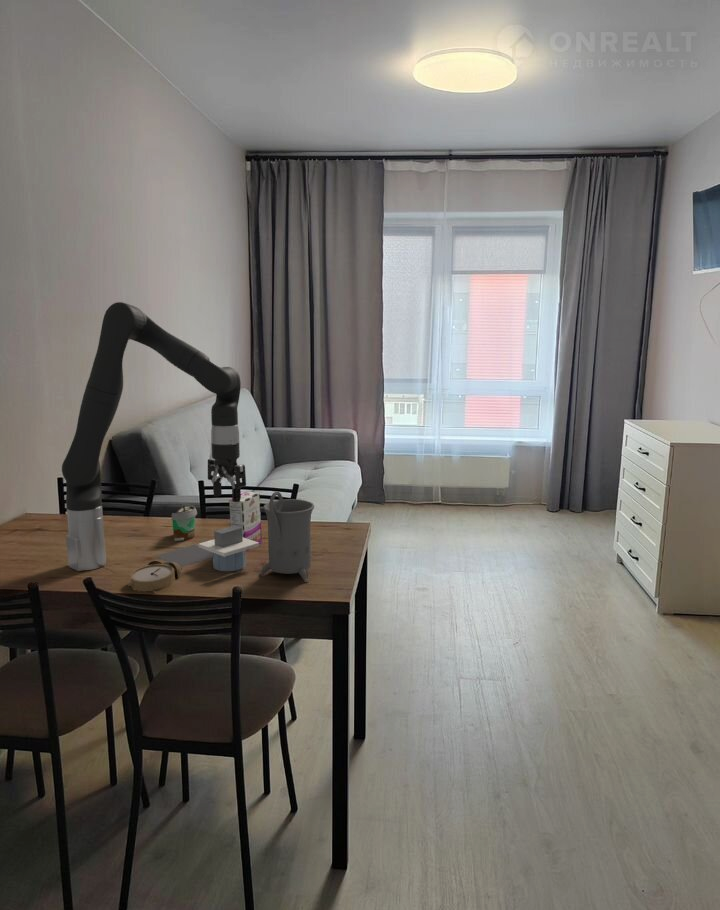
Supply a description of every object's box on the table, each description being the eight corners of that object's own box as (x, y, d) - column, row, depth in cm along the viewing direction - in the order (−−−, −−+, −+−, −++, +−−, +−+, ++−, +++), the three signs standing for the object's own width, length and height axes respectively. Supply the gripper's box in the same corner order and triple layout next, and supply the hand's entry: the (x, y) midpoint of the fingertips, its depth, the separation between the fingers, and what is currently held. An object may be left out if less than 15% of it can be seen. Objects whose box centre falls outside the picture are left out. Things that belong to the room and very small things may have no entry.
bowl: (226, 575, 185) (225, 554, 184) (207, 567, 191) (206, 547, 190) (252, 566, 192) (251, 546, 191) (232, 559, 198) (232, 539, 197)
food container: (192, 544, 211) (191, 513, 209) (172, 544, 211) (171, 513, 209) (202, 532, 223) (201, 503, 221) (183, 532, 223) (182, 503, 221)
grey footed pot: (280, 560, 197) (278, 476, 192) (327, 567, 191) (326, 481, 187) (247, 583, 179) (244, 491, 175) (297, 591, 174) (295, 497, 169)
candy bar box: (248, 541, 214) (246, 490, 211) (262, 542, 213) (260, 492, 210) (230, 552, 204) (228, 499, 201) (245, 554, 202) (243, 500, 199)
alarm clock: (120, 579, 175) (154, 552, 188) (123, 596, 176) (156, 567, 190) (157, 584, 171) (189, 556, 184) (160, 601, 173) (191, 572, 186)
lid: (224, 556, 182) (223, 538, 181) (198, 547, 190) (197, 529, 189) (259, 546, 191) (258, 529, 190) (233, 537, 199) (232, 520, 198)
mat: (181, 568, 190) (181, 567, 190) (154, 557, 199) (154, 555, 199) (222, 556, 200) (221, 554, 200) (194, 546, 210) (194, 544, 209)
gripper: (198, 439, 186) (200, 496, 189) (230, 445, 177) (231, 505, 180) (220, 436, 192) (222, 492, 195) (252, 442, 182) (253, 500, 185)
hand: (226, 498), depth 187 cm, fingers open, 8 cm apart
